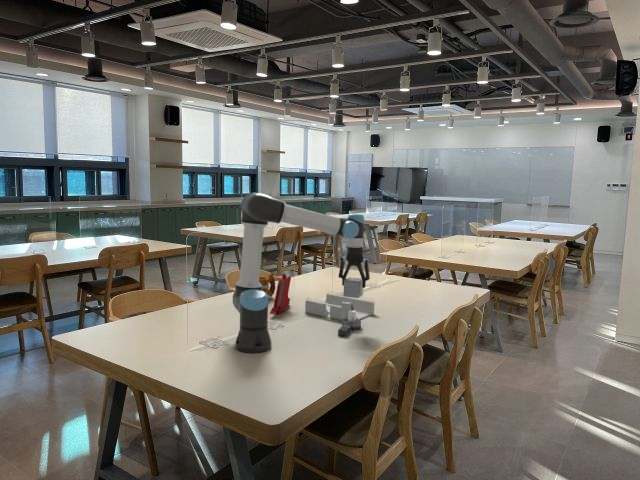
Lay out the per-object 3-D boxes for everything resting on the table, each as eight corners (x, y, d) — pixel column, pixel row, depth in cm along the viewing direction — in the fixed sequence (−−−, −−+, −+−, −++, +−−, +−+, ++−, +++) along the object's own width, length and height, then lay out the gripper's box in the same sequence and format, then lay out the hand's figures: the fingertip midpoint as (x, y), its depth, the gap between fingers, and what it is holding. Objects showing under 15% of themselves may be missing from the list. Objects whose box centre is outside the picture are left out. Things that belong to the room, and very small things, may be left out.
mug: (247, 299, 281) (247, 274, 279) (269, 295, 292) (270, 271, 290) (257, 303, 273) (257, 277, 271) (280, 299, 284) (280, 274, 282)
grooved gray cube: (363, 294, 231) (363, 278, 230) (358, 298, 224) (359, 281, 223) (348, 293, 234) (348, 277, 233) (343, 296, 227) (344, 279, 226)
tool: (278, 314, 242) (286, 267, 250) (268, 313, 243) (276, 266, 251) (289, 322, 265) (296, 279, 272) (279, 321, 266) (287, 278, 274)
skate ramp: (374, 314, 256) (374, 294, 255) (347, 325, 234) (348, 303, 233) (328, 304, 273) (328, 286, 272) (299, 314, 251) (300, 294, 250)
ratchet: (351, 337, 216) (351, 320, 215) (332, 334, 219) (333, 317, 218) (362, 325, 234) (363, 310, 233) (345, 323, 237) (346, 307, 236)
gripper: (378, 247, 226) (376, 294, 229) (337, 244, 233) (335, 289, 236) (374, 248, 219) (372, 297, 222) (332, 245, 226) (330, 292, 229)
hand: (353, 293), depth 229 cm, fingers closed on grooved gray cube, 8 cm apart
